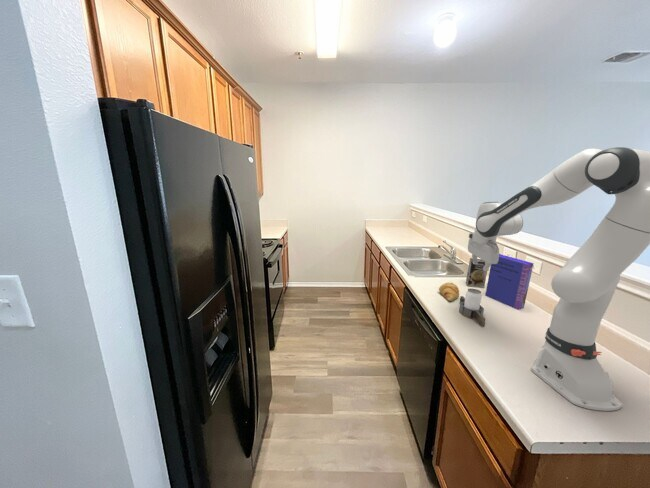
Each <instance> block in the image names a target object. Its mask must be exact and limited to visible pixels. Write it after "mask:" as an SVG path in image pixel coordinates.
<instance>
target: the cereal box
mask: <svg viewBox="0 0 650 488" xmlns="http://www.w3.org/2000/svg"><path fill="white" fill-rule="evenodd" d="M533 269H534V263H533V262H530V261H526V260H522V259H519V258H515V257H512V256H509V255H504V254H501V253H499V260H498V263H497V264H491V266H490V267H489V271H488V279H487V283H486V290H485V295H484V296H485V297H487V298H490V299H492V300H494V301H497V302H499V303H501V304H503V305H506V306H508V307H511V308H513V309H516V310H517V311H518V310H521V309H525V304H526V300H527V294H528V291H529V288H530V287H529V286H530V281H531V277H532V272H533Z"/></svg>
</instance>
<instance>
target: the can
mask: <svg viewBox="0 0 650 488" xmlns="http://www.w3.org/2000/svg"><path fill="white" fill-rule="evenodd" d="M464 298H465V303H464V307H465V308H468V309H471V310H479V308H480V305H481V303H482V291H481V290H480V289H476V288H467V291H466V292H465V297H464Z"/></svg>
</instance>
